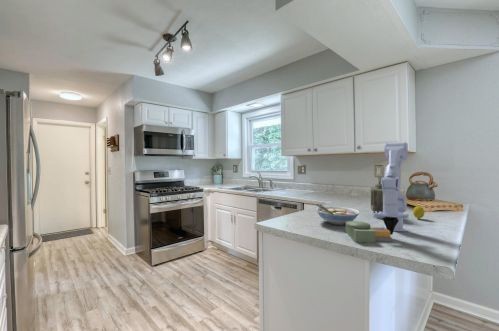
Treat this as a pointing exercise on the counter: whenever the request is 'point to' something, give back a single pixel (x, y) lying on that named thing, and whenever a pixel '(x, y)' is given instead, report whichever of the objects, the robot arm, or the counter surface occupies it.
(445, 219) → the counter surface
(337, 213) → the ramen bowl
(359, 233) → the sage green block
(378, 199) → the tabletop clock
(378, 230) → the orange square frame
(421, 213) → the lemon
